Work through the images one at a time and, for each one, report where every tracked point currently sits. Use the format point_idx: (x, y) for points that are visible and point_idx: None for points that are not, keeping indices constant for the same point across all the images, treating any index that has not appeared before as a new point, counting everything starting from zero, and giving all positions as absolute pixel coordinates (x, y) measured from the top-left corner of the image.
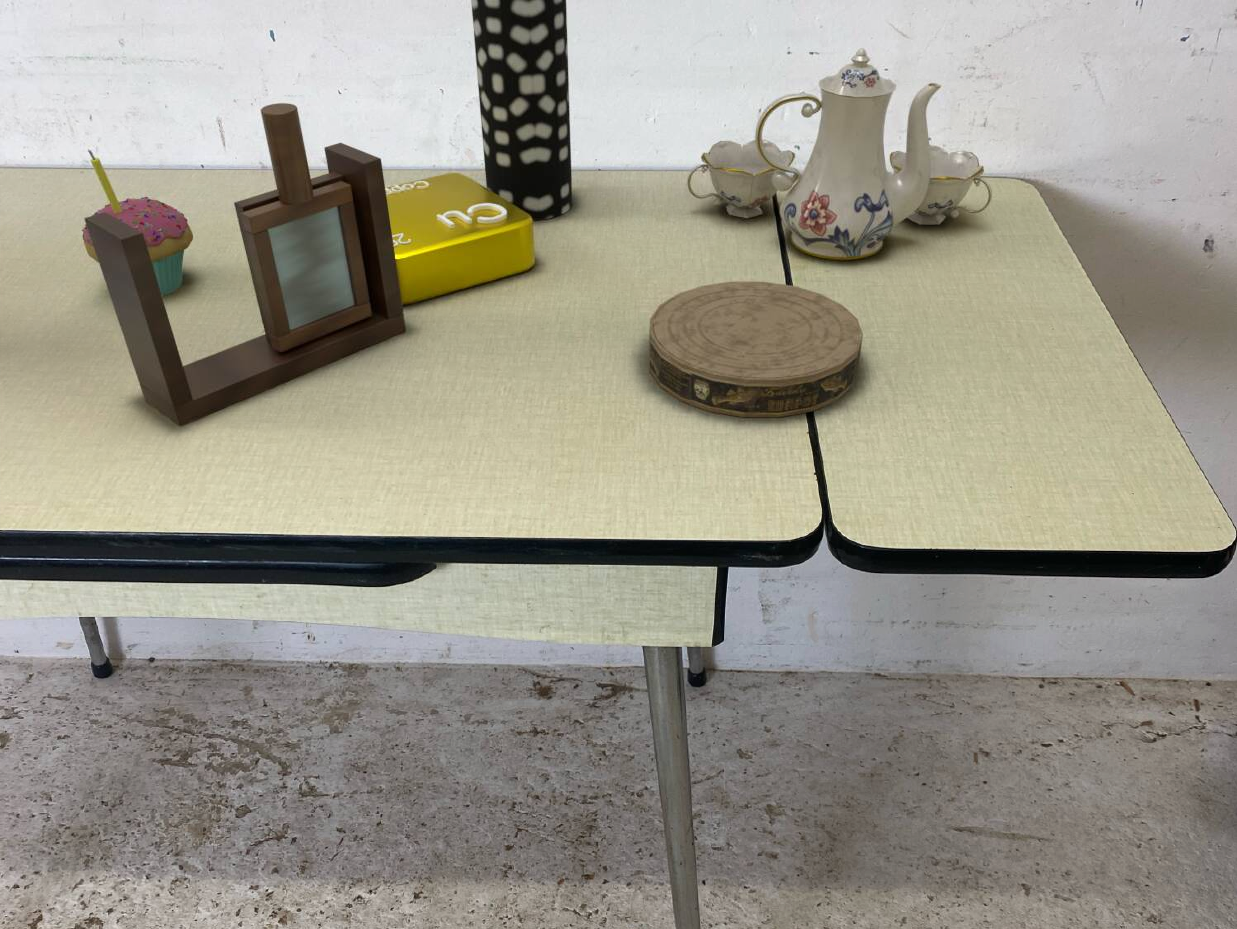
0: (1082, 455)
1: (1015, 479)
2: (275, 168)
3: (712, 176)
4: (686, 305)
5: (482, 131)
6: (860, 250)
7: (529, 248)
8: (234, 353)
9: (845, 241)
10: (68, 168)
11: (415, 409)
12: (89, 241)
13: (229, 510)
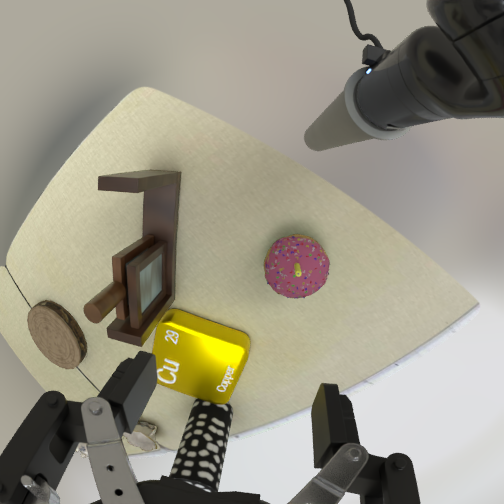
0: (5, 324)
1: (3, 307)
2: (107, 289)
3: (146, 431)
4: (71, 344)
5: (218, 427)
6: None
7: None
8: (167, 222)
9: None
10: (456, 321)
11: (94, 245)
12: (300, 238)
13: (90, 150)
